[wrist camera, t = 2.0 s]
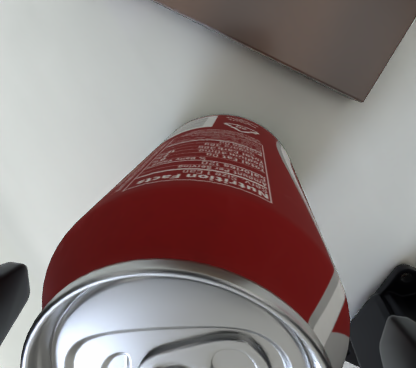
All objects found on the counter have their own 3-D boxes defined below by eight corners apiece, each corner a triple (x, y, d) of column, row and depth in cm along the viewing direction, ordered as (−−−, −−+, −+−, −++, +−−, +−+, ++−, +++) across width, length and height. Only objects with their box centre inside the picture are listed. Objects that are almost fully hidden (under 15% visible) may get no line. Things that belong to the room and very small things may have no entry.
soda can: (134, 141, 17) (-92, 296, 6) (266, 89, 15) (312, 163, 4) (186, 256, 19) (94, 544, 8) (309, 219, 17) (422, 512, 6)
